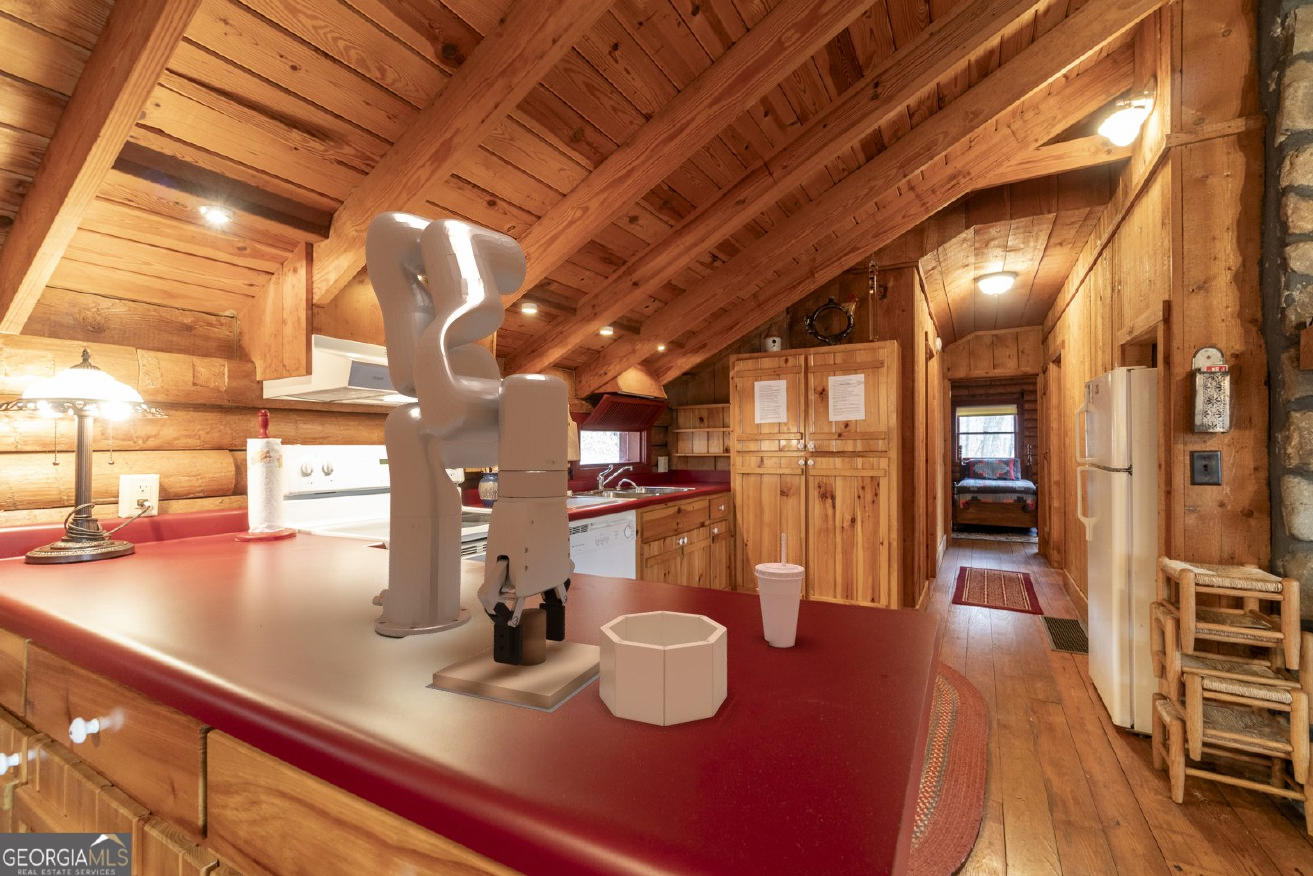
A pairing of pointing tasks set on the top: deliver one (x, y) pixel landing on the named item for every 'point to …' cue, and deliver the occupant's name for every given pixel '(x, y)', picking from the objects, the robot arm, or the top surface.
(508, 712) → the top surface
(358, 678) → the top surface
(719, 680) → the bowl
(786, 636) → the smoothie
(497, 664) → the lid
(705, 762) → the top surface
